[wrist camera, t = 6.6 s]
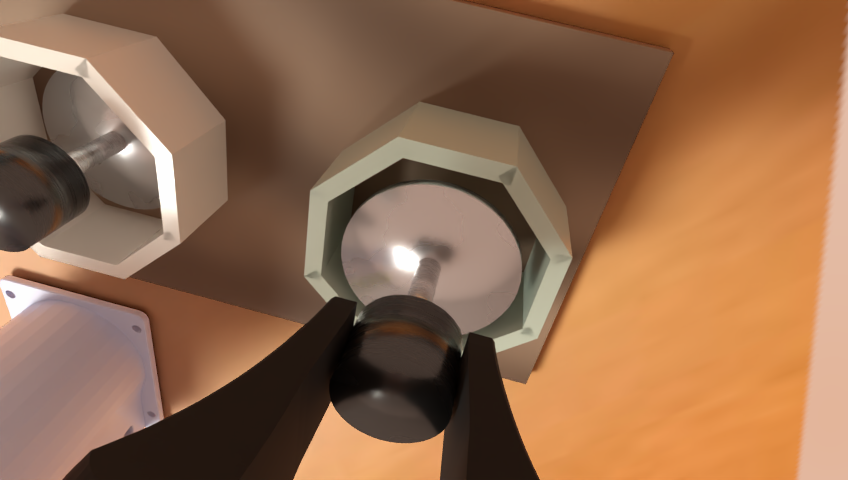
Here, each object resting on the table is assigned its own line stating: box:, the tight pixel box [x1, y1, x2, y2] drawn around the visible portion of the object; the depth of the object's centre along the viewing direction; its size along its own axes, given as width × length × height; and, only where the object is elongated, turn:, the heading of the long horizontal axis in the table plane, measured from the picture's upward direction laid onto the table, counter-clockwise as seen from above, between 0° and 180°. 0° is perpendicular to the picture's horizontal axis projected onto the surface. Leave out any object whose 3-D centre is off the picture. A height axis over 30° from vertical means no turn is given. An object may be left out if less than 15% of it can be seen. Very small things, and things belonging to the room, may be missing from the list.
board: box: [0, 0, 674, 384], centre depth 20 cm, size 15×24×1 cm, turn 79°
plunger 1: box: [0, 71, 161, 252], centre depth 18 cm, size 6×6×6 cm
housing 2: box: [304, 102, 573, 356], centre depth 18 cm, size 8×8×3 cm
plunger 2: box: [329, 179, 522, 443], centre depth 15 cm, size 6×6×6 cm
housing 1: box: [0, 14, 228, 279], centre depth 19 cm, size 8×8×3 cm
